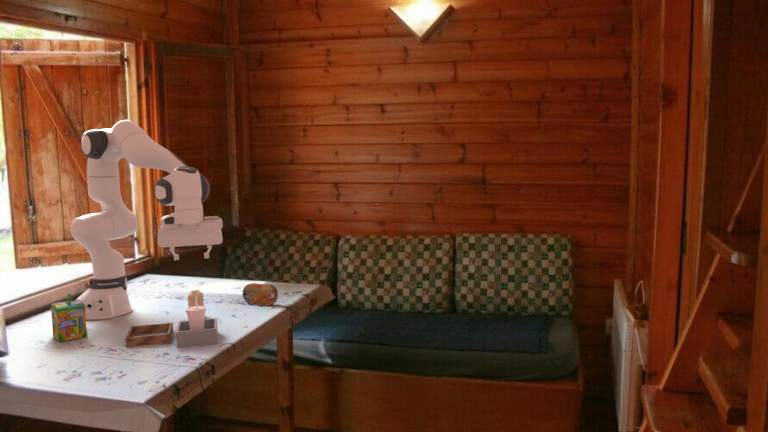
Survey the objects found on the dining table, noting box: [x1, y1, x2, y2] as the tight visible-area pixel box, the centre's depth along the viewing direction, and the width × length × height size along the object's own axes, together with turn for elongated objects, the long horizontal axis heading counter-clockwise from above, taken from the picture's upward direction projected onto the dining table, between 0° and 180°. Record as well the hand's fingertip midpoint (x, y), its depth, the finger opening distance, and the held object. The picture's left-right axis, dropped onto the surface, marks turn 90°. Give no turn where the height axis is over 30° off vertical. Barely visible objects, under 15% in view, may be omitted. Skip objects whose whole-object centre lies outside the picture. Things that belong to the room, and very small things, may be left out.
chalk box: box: [50, 293, 88, 343], centre depth 222 cm, size 9×9×15 cm
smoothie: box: [185, 295, 207, 330], centre depth 216 cm, size 6×6×14 cm
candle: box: [187, 289, 205, 308], centre depth 243 cm, size 6×6×10 cm
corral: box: [124, 322, 174, 348], centre depth 219 cm, size 14×14×3 cm
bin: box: [175, 317, 219, 349], centre depth 216 cm, size 13×13×5 cm
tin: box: [242, 282, 279, 307], centre depth 259 cm, size 15×3×8 cm, turn 68°
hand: (191, 259), depth 214 cm, fingers open, 8 cm apart
